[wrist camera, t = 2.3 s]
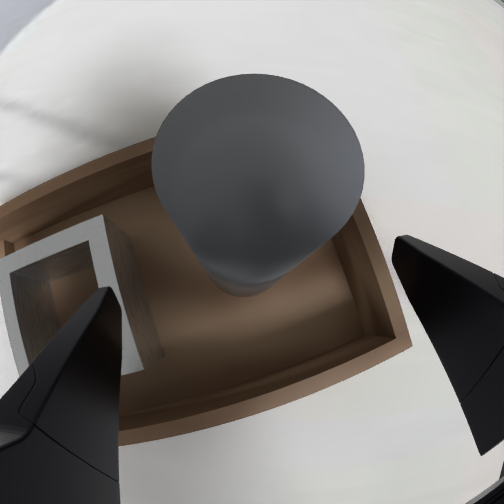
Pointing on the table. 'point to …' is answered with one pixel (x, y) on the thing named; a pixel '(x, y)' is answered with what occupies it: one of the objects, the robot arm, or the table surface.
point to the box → (217, 305)
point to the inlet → (64, 264)
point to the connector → (256, 176)
